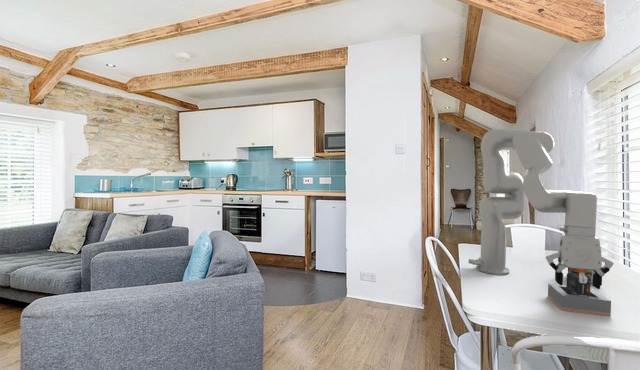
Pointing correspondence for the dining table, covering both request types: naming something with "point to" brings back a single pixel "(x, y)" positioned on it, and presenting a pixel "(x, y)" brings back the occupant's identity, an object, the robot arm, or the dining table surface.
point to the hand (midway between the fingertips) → (577, 285)
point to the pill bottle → (578, 282)
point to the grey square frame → (579, 301)
